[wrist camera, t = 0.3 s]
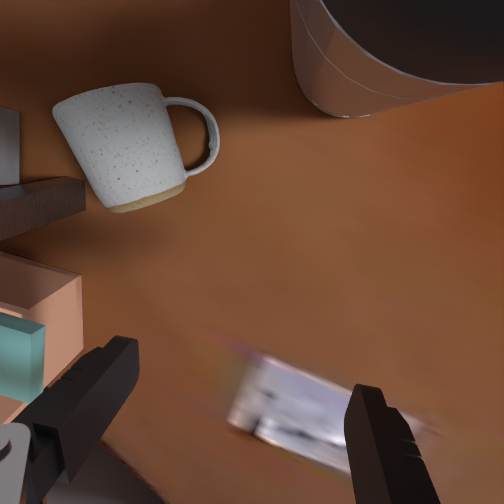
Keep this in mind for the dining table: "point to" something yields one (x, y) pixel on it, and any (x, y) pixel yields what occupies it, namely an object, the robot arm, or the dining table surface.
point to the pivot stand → (39, 204)
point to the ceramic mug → (129, 143)
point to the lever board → (8, 326)
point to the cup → (42, 314)
